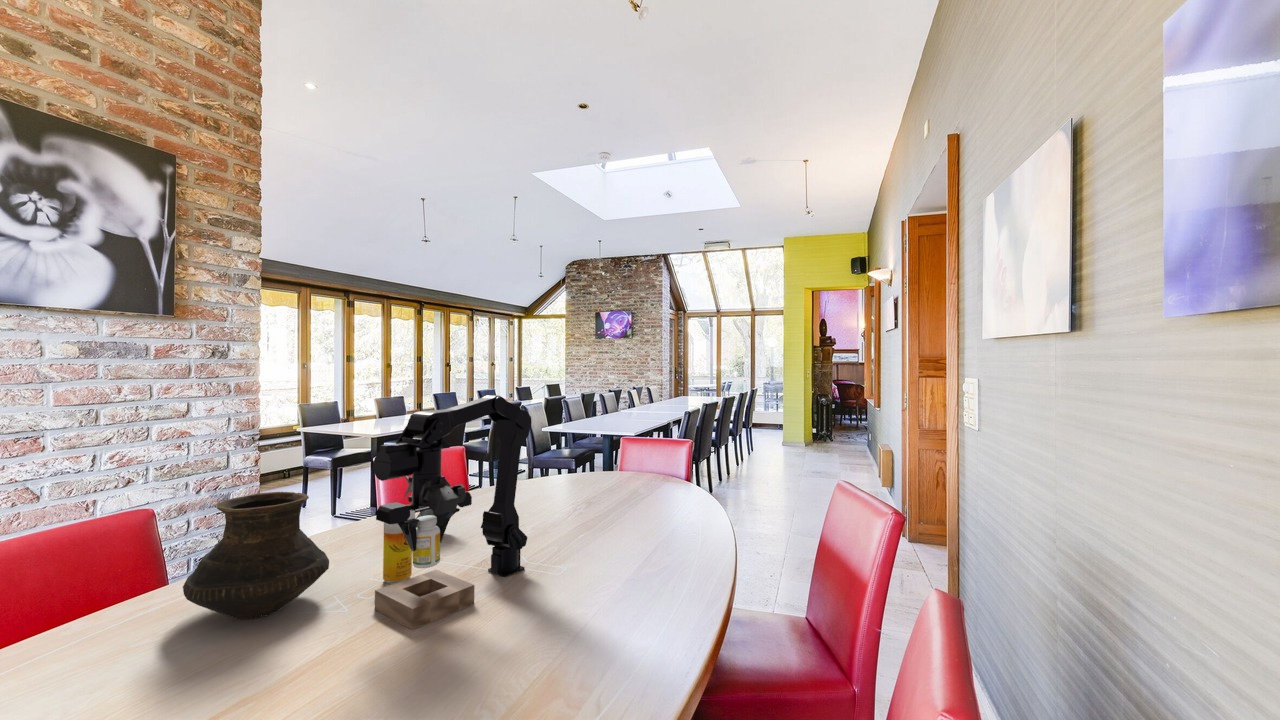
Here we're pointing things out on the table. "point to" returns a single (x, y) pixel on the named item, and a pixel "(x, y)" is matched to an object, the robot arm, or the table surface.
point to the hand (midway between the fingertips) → (426, 546)
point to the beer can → (396, 555)
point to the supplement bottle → (427, 543)
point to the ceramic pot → (257, 558)
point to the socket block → (424, 598)
